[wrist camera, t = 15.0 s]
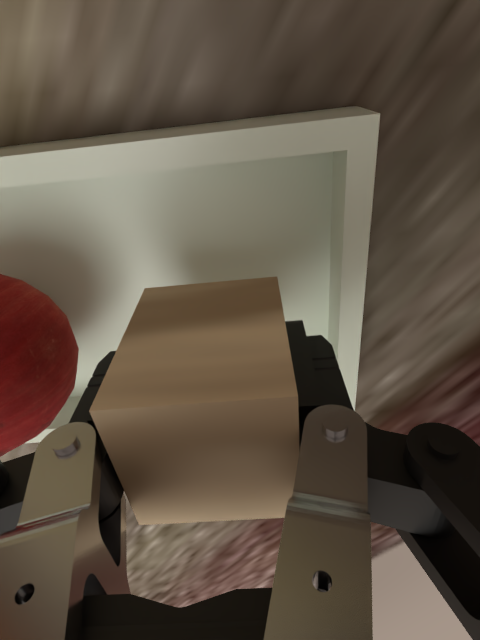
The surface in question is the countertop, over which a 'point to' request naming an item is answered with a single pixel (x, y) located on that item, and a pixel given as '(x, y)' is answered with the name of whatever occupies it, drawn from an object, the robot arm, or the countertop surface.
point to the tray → (196, 222)
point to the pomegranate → (32, 362)
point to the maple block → (203, 404)
